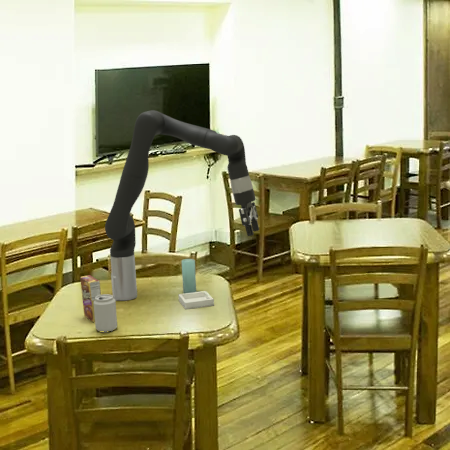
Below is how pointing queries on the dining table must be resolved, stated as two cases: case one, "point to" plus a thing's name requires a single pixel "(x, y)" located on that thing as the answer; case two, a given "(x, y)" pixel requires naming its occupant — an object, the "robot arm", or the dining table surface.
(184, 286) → the pale green cylinder
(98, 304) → the can
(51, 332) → the dining table surface
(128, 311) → the dining table surface
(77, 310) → the dining table surface
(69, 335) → the dining table surface
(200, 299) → the tray
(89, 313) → the candy box
